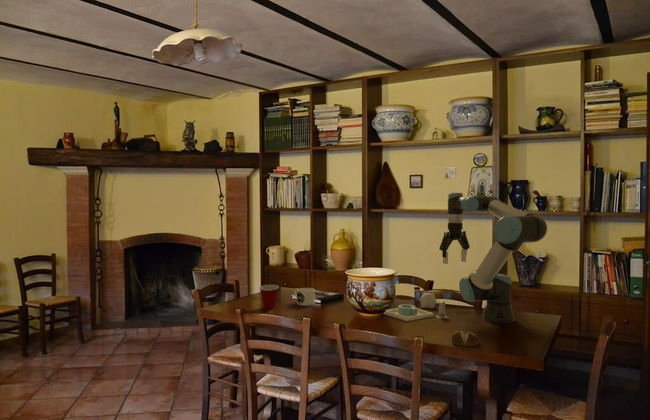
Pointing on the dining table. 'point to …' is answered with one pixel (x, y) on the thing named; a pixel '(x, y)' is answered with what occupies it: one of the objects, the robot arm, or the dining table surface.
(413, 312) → the grey-green rounded block
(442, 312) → the grey pedestal column
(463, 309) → the dining table surface
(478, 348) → the dining table surface
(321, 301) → the dining table surface
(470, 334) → the bread
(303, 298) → the mug
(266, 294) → the plastic cup
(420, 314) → the tray
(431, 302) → the die
